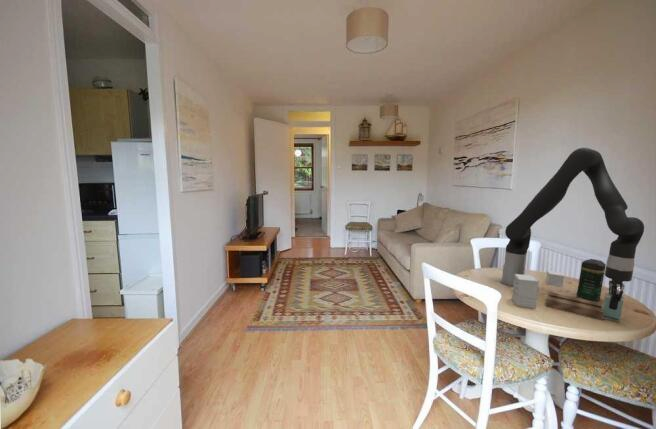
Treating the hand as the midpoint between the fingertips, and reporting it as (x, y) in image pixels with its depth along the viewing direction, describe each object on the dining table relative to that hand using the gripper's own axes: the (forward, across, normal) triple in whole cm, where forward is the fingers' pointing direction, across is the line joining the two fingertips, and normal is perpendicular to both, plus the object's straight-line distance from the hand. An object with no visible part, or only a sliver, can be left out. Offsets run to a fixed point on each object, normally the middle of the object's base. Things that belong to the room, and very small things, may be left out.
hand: (612, 307), depth 114 cm
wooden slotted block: (+4, 0, -12) cm, 13 cm away
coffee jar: (+4, -19, -6) cm, 20 cm away
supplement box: (+5, +9, -29) cm, 31 cm away
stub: (+4, 0, 0) cm, 4 cm away
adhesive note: (+5, -31, -19) cm, 37 cm away
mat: (+4, 0, 0) cm, 4 cm away
